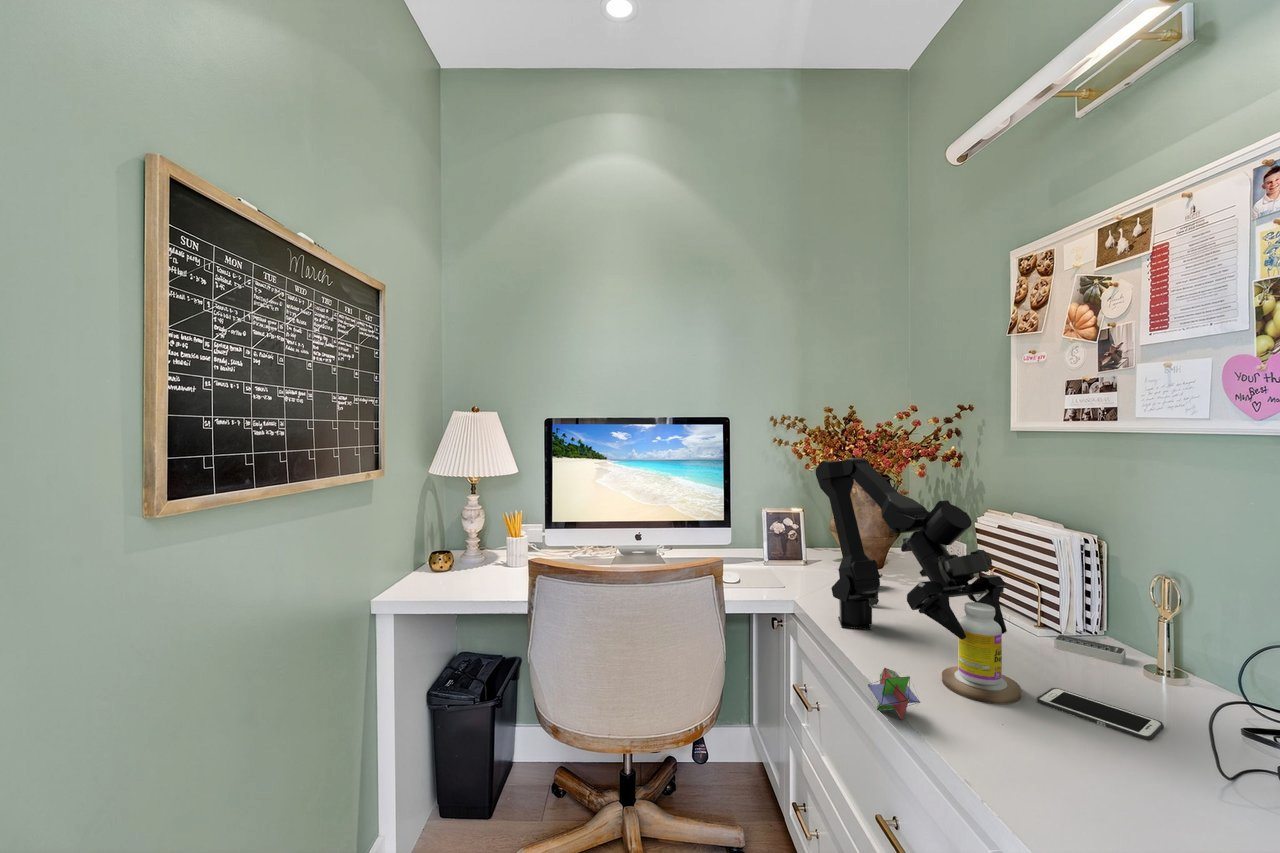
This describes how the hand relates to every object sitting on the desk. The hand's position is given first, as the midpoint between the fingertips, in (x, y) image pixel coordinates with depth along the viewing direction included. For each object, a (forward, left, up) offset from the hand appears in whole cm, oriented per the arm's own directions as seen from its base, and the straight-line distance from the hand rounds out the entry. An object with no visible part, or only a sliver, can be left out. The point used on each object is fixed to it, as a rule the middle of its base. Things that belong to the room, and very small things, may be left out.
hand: (984, 635), depth 98 cm
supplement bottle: (-1, +1, -8) cm, 8 cm away
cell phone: (+14, -5, -10) cm, 18 cm away
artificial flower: (-11, +56, -10) cm, 57 cm away
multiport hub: (+27, +22, -10) cm, 36 cm away
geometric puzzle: (-18, -12, -10) cm, 23 cm away
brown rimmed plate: (-1, +1, -9) cm, 10 cm away
